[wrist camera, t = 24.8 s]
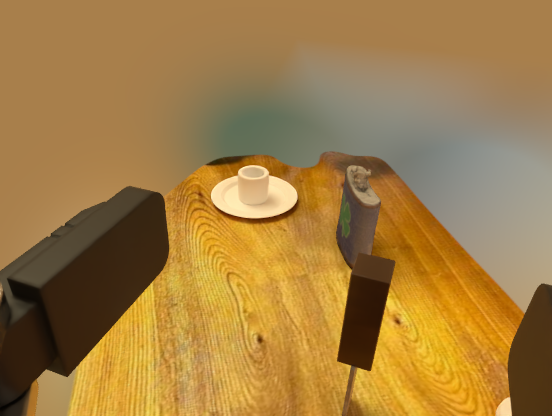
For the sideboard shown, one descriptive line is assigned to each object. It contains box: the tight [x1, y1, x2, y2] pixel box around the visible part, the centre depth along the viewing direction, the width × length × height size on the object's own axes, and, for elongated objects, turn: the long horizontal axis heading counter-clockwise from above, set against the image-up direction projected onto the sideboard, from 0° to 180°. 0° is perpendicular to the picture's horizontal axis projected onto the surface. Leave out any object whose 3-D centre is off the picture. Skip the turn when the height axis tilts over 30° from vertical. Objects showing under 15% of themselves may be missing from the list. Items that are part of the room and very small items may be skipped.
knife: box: [337, 252, 395, 416], centre depth 33 cm, size 2×3×15 cm
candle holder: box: [211, 166, 297, 218], centre depth 63 cm, size 12×12×4 cm
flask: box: [336, 166, 381, 269], centre depth 53 cm, size 9×3×11 cm, turn 4°
